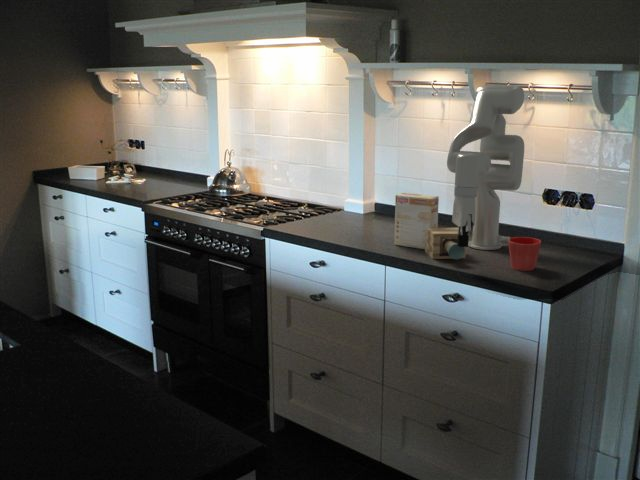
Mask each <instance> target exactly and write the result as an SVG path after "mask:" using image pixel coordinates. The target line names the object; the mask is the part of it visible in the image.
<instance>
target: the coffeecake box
mask: <svg viewBox="0 0 640 480" xmlns="http://www.w3.org/2000/svg"><path fill="white" fill-rule="evenodd" d="M439 201H440V199H439V196H438V195H437V196H436V195H427V194H418V193H407V192H402V193H398V194H396V195H395V203H394V204H395V205H394V206H395V207H394V209H395V210H394V211H395V212H394V235H393V236H394V238H393V241H394V242H393V246H401V247H407V248H408V247H409V248H415V249H420V250H425V241H426V228H439V225H438V224H439V223H438V222H439Z"/></svg>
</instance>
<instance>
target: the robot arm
mask: <svg viewBox="0 0 640 480" xmlns="http://www.w3.org/2000/svg"><path fill="white" fill-rule="evenodd" d="M474 94H475V95H474V96H475V97H474V102H473V106H472V110H471V114H470V119H469V123H468V124H467V126H466V127H464V128H463V129H461V130H460V131H459V132H458V133H457V134H456V135H455V136H454V137H453V138H452V141H451V143H450V146H449V150H448V155H447V160H446V166H447V170H448V171H449V172H451V173H452V174H455V175H454V194H453V196H454V200H453V206H452V217H451V222H452V223H453V225H456V226H457V227H458V243H457V245H458V246H459V247H466V248H468V247H469V248H471V249H476V250H483V251H492V250H493V251H494V250H499V249H501V248H503V247H502V246H503V244H502V243H504V242H505V243H506V242H507V243H508V240H509V239H510V238H511V237H510V236H504V235H500V234H499V230H500V229H499V226H500V209H501V200H500V197H499V195H498V193H497V192H496V191H510V192H511V191H512V192H513V191H517V190H519V189H520V188H521V185H522V179H523V170H524V169H523V168H524V157H525V142H524V138H522V137H523V136H521V135H517V134H506V124H507V121H506V118H505V117H504V115H515V114H516V113H517V112H518V111H519V110H520V109H521V107H522V106H523V104H524V100H525V91H524V89H523V87H522V86H520V85H514V84H513V85H509V84H508V85H503V84H487V85H481V86H479V87H477V88H476V89H475V93H474ZM478 140H480V144H479V151H470V150H469V151H468V150H466V151H465V150H462V149H463V148H464V147H465V146H466V145H468V144H471V143H472V142H476V141H478ZM492 161H505V162H509V164H506V163H505V164H504V163H503V164H501V163H492ZM471 231H472V235H471V240H469V238H470V232H471Z"/></svg>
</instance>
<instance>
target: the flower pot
mask: <svg viewBox="0 0 640 480" xmlns="http://www.w3.org/2000/svg"><path fill="white" fill-rule="evenodd" d="M507 243H508V250H509V251H508V253H509V260H510V267H511V269H513V270H516V271H520V272H527V271H528V272H530V271H534V270H535V269H536V266H537V262H538V258H539V257H538V256H539V252H540V250H541V249H540V248H541V244H542V240H541V239H538V238H534V237H527V236H514V237H510V239H509V240H508V242H507Z"/></svg>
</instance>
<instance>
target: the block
mask: <svg viewBox="0 0 640 480" xmlns="http://www.w3.org/2000/svg"><path fill="white" fill-rule="evenodd" d="M445 239H450V240H452V241H453V242H454V243H458V226H457V227H437V228H426V241H425V249H424V252H425V253H426V255H428V256H429V257H430V258H431V259H432V260H437V259H439V260H442V259H449V260H450V259H452V258H451V257H450V256H449V254H448V252H447V251H446V250H445V249H444V248H443V241H444V240H445ZM464 249H465V253H464V255H463V257H462V258H461V259H466V256H467V253H466V252H467V247H464Z"/></svg>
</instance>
